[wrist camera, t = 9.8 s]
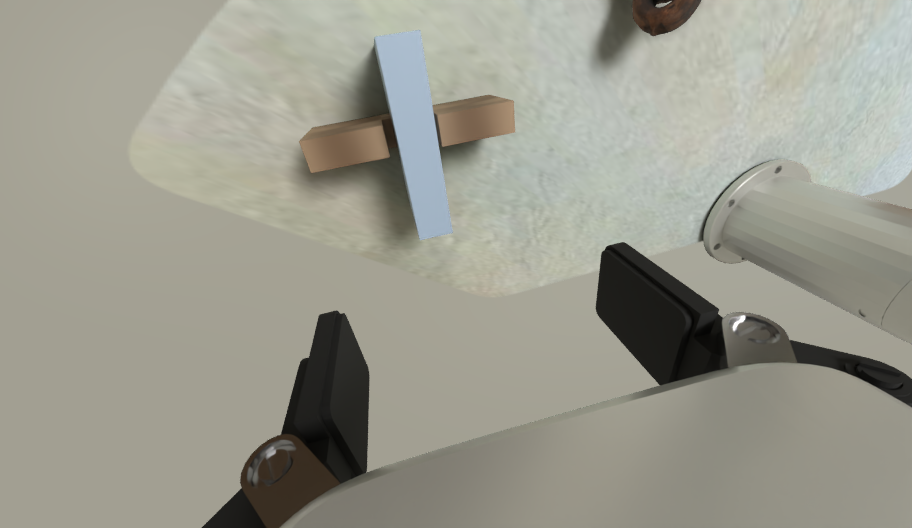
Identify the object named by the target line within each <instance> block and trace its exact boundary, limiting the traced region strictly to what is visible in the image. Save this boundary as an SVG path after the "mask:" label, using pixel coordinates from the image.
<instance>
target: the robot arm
mask: <svg viewBox="0 0 912 528" xmlns="http://www.w3.org/2000/svg"><path fill="white" fill-rule="evenodd" d="M703 240H704V246H705V249H706V251H707V252H708V254H709V255H710V256H712V257H714V258H715V259H717V260H718V261H721V262H724V263H740V262H743V261H746V260H748V261H750V262H752V263H754V264H756V265H758V266H760V267H762V268H764V269H766V270H768V271H769V272H771V273H774V274H775V275H777V276H779V277H781V278H783V279H785V280H787V281H789V282H791V283H793V284H795V285H797V286H799V287H801V288H802V289H804V290H806V291H808V292H810V293H812V294H814V295H816V296H818V297H820V298H822V299H824V300H826V301H828V302H830V303H831V304H833V305H835V306H837V307H839V308H841V309H843V310H845V311H847V312H849V313H851V314H853V315H855V316H857V317H859V318H861V319H862V320H864V321H866V322H869V323H871V324H872V325H874V326H876V327H878V328H880V329H882V330H884V331H886V332H888V333H890V334H892V335H894V336H896V337H897V338H899V339H901V340H903V341H906V342H908V343H910V344H912V209H909V208H905V207H901V206H897V205H893V204H890V203H886V202H883V201H879V200H875V199H871V198H867V197H864V196H860V195H856V194H852V193H849V192H845V191H841V190H837V189H833V188H830V187H826V186H822V185H818V184H814V183H811V176H810V173H809V171H808V169H807V168H806V167H805V166H804V165H803V164H801V163H798V162H795V161H790V160H785V159H780V160H772V161H769V162H765V163H763V164H761V165H759V166H757V167H754V168H753V169H751V170H750V171H748V172H747V173H745V174H743V175H742V176H741V177H740V178H739V179H737V180H736V181H735V182H734V183H733V184H732V185H731V186H730V187H729V188H728V189H727V190H726V191H725V192H724V193H723V194H722V196H721V197H720V198H719V200H718V201H717V202H716V204H715V206H714V207H713V209H712V210H711V213H710V215H709V217H708V219H707V222H706V225H705V229H704V236H703ZM718 311H719V309H718V308H717V307H715V306H714V305H712V304H711V303H709V302H708V301H707V300H705V299H704V298H703V297H701V296H700V295H698V294H697V293H695V292H694V291H693V290H691V289H690V288H688V287H687V286H686V285H684V284H683V283H681V282H680V281H679V280H677V279H676V278H674V277H673V276H671V275H670V274H669V273H667V272H666V271H664V270H663V269H662V268H660V267H659V266H657V265H656V264H655V263H653V262H652V261H650V260H649V259H647V258H646V257H645V256H643V255H642V254H640V253H639V252H638V251H636V250H635V249H633V248H632V247H631V246H629V245H628V244H626V243H624V242H622V243H617V244H613V245H609V246H607V247H606V248H605V251H603V252H602V254H601V263H600V273H599V283H598V291H597V301H596V312H597V314H598V316H599V317H600V318H601V319H602V321H603V322H604V323H605V324H606V325H607V326H608V327H609V329H610V330H611V331H612V332H613V333H614V334H615V335H616V336H617V338H618V339H619V340H620V341H621V342H622V343H623V344H624V345H625V346H626V348H627V349H628V350H629V351H630V352H631V353H632V354H633V356H634V357H635V358H636V359H637V360H638V361H639V362H640V363H641V365H642V366H643V367H644V368H645V369H646V370H647V371H648V372H649V374H650V375H651V376H652V377H653V378H654V379H655V380H656V381H657V382H658V384H659V385H660V386H657V387H654V388H650V389H647V390H643V391H639V392H636V393H633V394H629V395H626V396H622V397H618V398H614V399H611V400H607V401H604V402H600V403H597V404H593V405H590V406H586V407H583V408H579V409H576V410H572V411H569V412H565V413H562V414H558V415H555V416H552V417H548V418H544V419H541V420H538V421H534V422H530V423H527V424H524V425H520V426H517V427H513V428H510V429H506V430H503V431H500V432H496V433H493V434H489V435H486V436H482V437H479V438H476V439H472V440H469V441H465V442H462V443H459V444H455V445H452V446H448V447H445V448H442V449H438V450H435V451H432V452H428V453H426V454H422V455H419V456H416V457H412V458H409V459H406V460H403V461H400V462H396V463H393V464H390V465H387V466H384V467H381V468H379V469H376V470H373V471H370V472H367V473H366V471H367V446H368V409H369V371H368V366H367V364H366V362H365V359H364V357H363V354H362V352H361V350H360V347H359V345H358V343H357V340H356V338H355V335H354V333H353V331H352V329H351V326H350V324H349V321H348V319H347V317H346V315H345V314H344V313H343V314H340V313H339V312H338V311H333V312H329V313H324V314H321V315H319V318H318V322H317V326H316V330H315V335H314V339H313V343H312V348H311V352H310V356H309V358H305V359H303V360H302V361H301V362H300V365H299V369H298V372H297V376H296V380H295V384H294V387H293V391H292V395H291V399H290V403H289V406H288V410H287V414H286V418H285V421H284V425H283V429H282V433H281V435H278V436H276V437H273V438H271V439H269V440H267V441H266V442H265V443H263V444H262V445H260V446H259V447H258V448H257V449H256V450H255V451H254V452H253V453H252V454H251V456H250V457H249V459H248V460H247V462H246V463H245V465H244V467H243V470H242V472H241V479H240V484H241V487H242V488H241V489H240V490H239V491H238V492H237V493H236V494H235V495H234V496H233V497H232V498H231V499H230V500H229V501H228V502H227V503H226V504H225V505H224V506H223V507H222V508H221V509H220V510H219V511H218V512H217V513H216V514H215V515H214V516H213V517H212V518H211V519H210V520H209V521H208V522H207V523H206V524H205V525H204V526H203V527H202V528H912V379H911V378H910V377H909V376H907V375H906V374H904V373H903V372H901V371H899V370H897V369H896V368H894V367H892V366H889V365H887V364H885V363H882V362H880V361H876V360H873V359H870V358H866V357H861V356H856V355H852V354H848V353H844V352H839V351H835V350H831V349H826V348H822V347H818V346H814V345H809V344H805V343H801V342H797V341H792V340H789V337H788V335H787V333H786V332H785V330H784V329H783V328H782V327H781V326H780V325H778V324H777V323H775V322H773V321H772V320H770V319H768V318H765V317H763V316H760V315H756V314H752V313H744V312H736V313H730V314H727V315H726V316H725V317H724V318H722V317H721V316H720V315H718Z"/></svg>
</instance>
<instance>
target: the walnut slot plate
mask: <svg viewBox="0 0 912 528" xmlns="http://www.w3.org/2000/svg"><path fill="white" fill-rule="evenodd" d="M432 107H433V113H434V119H435V125H436V132H437V138H438V142H439V143H440V145H441V146H442V147H444V146H449V145H454V144H459V143H464V142H469V141H474V140H479V139H484V138H489V137H494V136H499V135H504V134H509V133H514V132H515V121H514V101H513V100H509V99H504V98H500V97H496V96H492V95H485V96H480V97H475V98H469V99H464V100H458V101H453V102H448V103H442V104H437V105H432ZM299 143H300V145H301V148H302V150H303V153H304V156H305V158H306V161H307V163H308V166H309V169H310V171H311V173H314V172H319V171H324V170H329V169H334V168H339V167H344V166H349V165H354V164H359V163H364V162H369V161H374V160H379V159H384V158H389V157H390V154H389V148H394V147H398V146H397V141H396V137H395V133H394V128H393V124H392V119H391V115H390V113H389V114H383V115H378V116H372V117H367V118H362V119H356V120H351V121H346V122H340V123H335V124H330V125H324V126H319V127H313V128H312V129H311V130H310V131H309V132H308V133H307V134H306V135H305V136H304V137H303V138H302V139H301V140H300V141H299Z"/></svg>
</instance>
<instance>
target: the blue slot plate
mask: <svg viewBox="0 0 912 528" xmlns="http://www.w3.org/2000/svg"><path fill="white" fill-rule="evenodd" d="M374 47H375V52H376V56H377V60H378V65H379V69H380V74H381V78H382V83H383V87H384V91H385V96H386V100H387V105H388V109H389V112H390V115H391V119H392V124H393V128H394V133H395V137H396V141H397V146H398V150H399V158H400V162H401V166H402V171H403V175H404V180H405V184H406V189H407V193H408V197H409V202H410V206H411V209H412V213H413V217H414V220H415V224H416V228H417V231H418V235H419V239H420V240H423V239H428V238H432V237H436V236H441V235H445V234H450V233H453V231H452V225H451V219H450V213H449V206H448V200H447V194H446V188H445V181H444V175H443V169H442V163H441V157H440V150H439V144H438V138H437V132H436V125H435V119H434V113H433V107H432V100H431V94H430V88H429V82H428V75H427V69H426V63H425V57H424V50H423V44H422V38H421V32H420V30H415V31H409V32H402V33H396V34H389V35H383V36H376V37H375V38H374Z"/></svg>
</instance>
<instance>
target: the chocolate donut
mask: <svg viewBox="0 0 912 528" xmlns="http://www.w3.org/2000/svg"><path fill="white" fill-rule="evenodd" d="M669 1H672V2H670V3H669V4H667V5H666V6H664V7H660V8H657V7H655V6H656V4H660V3H667V2H669ZM700 2H701V0H633V4H632V8H633V19H634V21H635V22H636V24H637V25H638V26H639V27H640V28H641V29H642V30H643V31H644V32H647V33H649V34H650V35H651V36H656V35H659V34H664V33H668V32H671V31H673V30H675V29H677V28H678V27H680V26H681V25H682V24H684V23H685V22H686V21H687V20H688V19H689V18H690V17H691V15H692V14H693V13H694V11H695V10H696V9H697V7H698V6H699V4H700Z"/></svg>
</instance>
